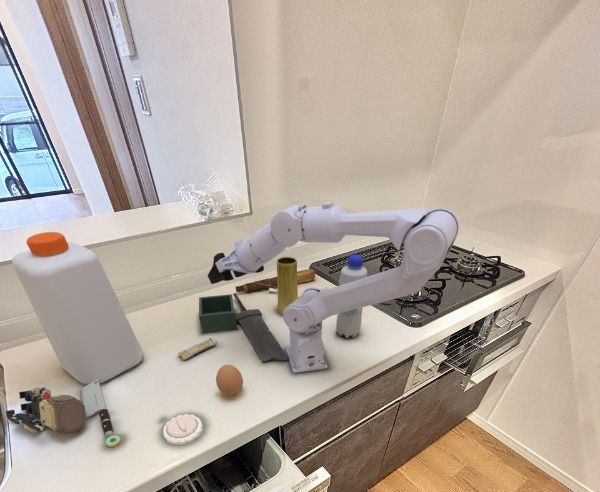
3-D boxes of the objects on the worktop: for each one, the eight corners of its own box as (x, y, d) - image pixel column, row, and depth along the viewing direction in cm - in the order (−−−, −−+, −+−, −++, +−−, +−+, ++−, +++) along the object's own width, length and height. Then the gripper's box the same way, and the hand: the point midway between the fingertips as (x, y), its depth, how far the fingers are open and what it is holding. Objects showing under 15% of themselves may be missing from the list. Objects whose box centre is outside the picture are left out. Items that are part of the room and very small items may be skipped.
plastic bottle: (117, 337, 89) (67, 218, 70) (151, 359, 82) (106, 234, 63) (57, 365, 81) (-19, 239, 62) (89, 392, 74) (14, 260, 54)
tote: (237, 329, 92) (234, 312, 89) (202, 333, 91) (198, 316, 87) (234, 310, 99) (231, 294, 96) (202, 313, 98) (199, 297, 95)
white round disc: (196, 411, 70) (194, 404, 68) (208, 435, 65) (206, 427, 64) (159, 424, 67) (156, 417, 66) (169, 450, 63) (166, 443, 61)
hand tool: (312, 278, 115) (312, 267, 113) (316, 280, 113) (316, 269, 111) (235, 293, 108) (233, 281, 106) (237, 296, 105) (235, 284, 103)
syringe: (284, 295, 107) (285, 293, 108) (285, 289, 106) (286, 287, 107) (252, 289, 106) (253, 287, 108) (252, 282, 105) (254, 280, 107)
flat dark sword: (262, 369, 80) (261, 363, 79) (223, 299, 103) (221, 293, 102) (291, 361, 82) (291, 354, 81) (246, 294, 105) (245, 288, 104)
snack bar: (183, 359, 81) (176, 351, 82) (184, 363, 82) (177, 355, 83) (218, 342, 86) (211, 334, 87) (217, 346, 87) (210, 338, 88)
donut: (166, 430, 67) (165, 427, 67) (107, 449, 63) (106, 446, 62) (163, 422, 69) (162, 419, 68) (105, 440, 64) (104, 437, 64)
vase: (298, 315, 97) (298, 265, 87) (276, 315, 97) (273, 265, 87) (299, 305, 102) (298, 255, 92) (278, 305, 102) (275, 255, 92)
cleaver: (75, 389, 73) (96, 376, 73) (81, 392, 74) (101, 379, 74) (86, 447, 63) (110, 431, 64) (92, 450, 64) (116, 435, 65)
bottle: (359, 341, 88) (370, 262, 74) (333, 338, 89) (339, 260, 75) (361, 327, 92) (372, 250, 79) (336, 325, 93) (342, 248, 80)
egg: (237, 403, 71) (232, 377, 67) (214, 398, 73) (207, 371, 68) (248, 387, 75) (245, 361, 70) (226, 382, 76) (221, 356, 72)
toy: (-4, 386, 65) (37, 403, 58) (44, 380, 71) (86, 395, 64) (1, 422, 66) (41, 443, 59) (47, 413, 73) (88, 431, 66)
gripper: (274, 225, 75) (237, 254, 84) (225, 232, 64) (189, 264, 74) (288, 257, 76) (250, 282, 85) (243, 269, 66) (205, 296, 75)
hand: (223, 276), depth 80 cm, fingers open, 7 cm apart
